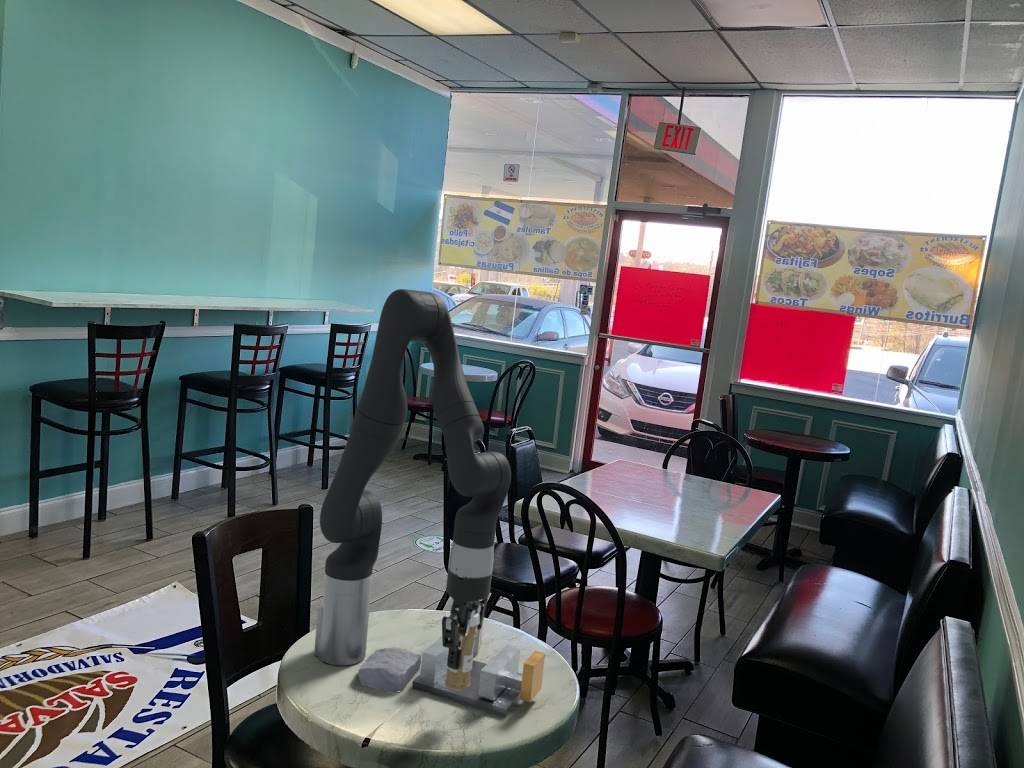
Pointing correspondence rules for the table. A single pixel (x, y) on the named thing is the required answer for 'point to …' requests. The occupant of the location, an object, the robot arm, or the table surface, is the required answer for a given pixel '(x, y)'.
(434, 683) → the vise
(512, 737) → the table surface
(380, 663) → the stone block
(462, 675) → the sprinkles bottle
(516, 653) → the sliding jaw
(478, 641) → the tea box
